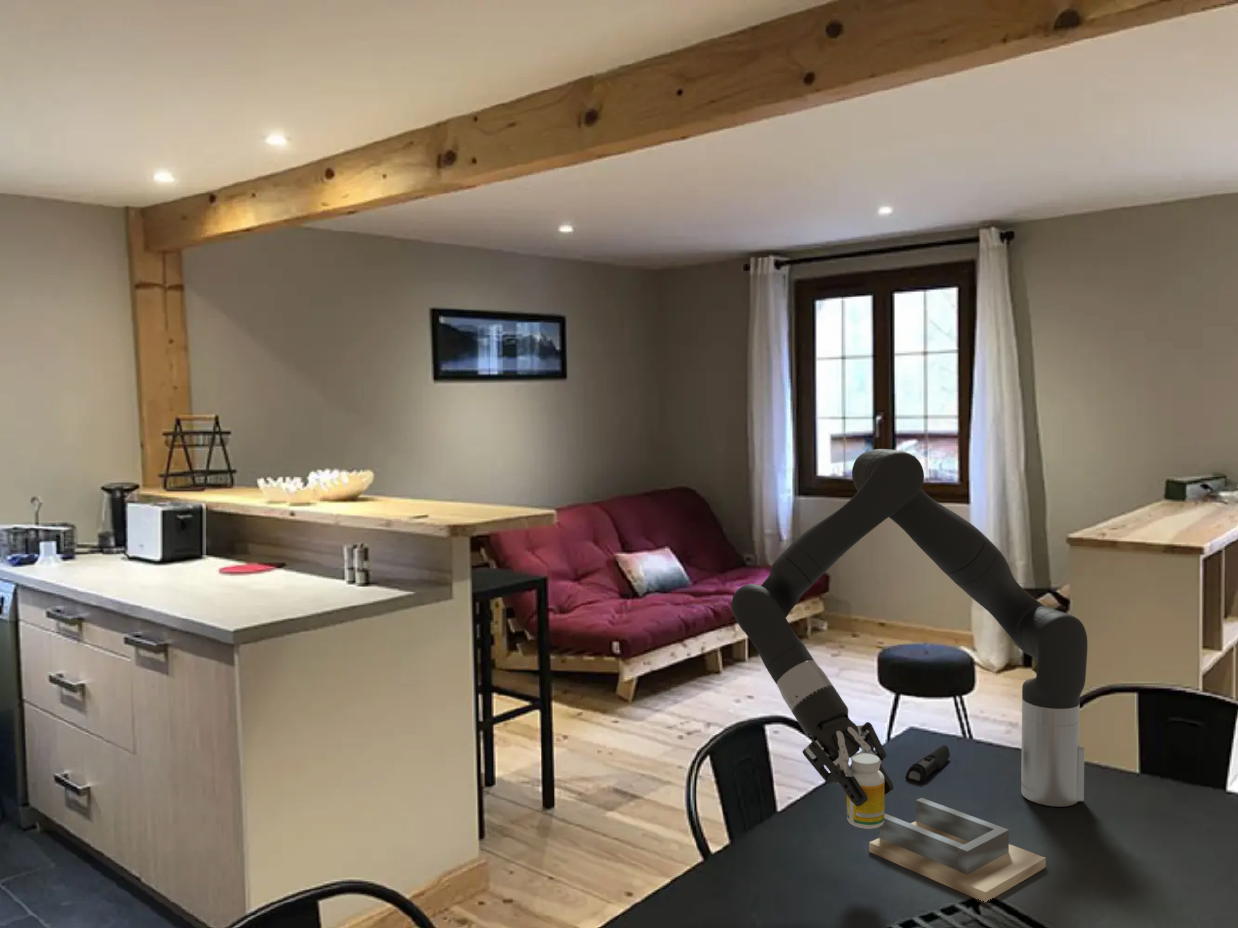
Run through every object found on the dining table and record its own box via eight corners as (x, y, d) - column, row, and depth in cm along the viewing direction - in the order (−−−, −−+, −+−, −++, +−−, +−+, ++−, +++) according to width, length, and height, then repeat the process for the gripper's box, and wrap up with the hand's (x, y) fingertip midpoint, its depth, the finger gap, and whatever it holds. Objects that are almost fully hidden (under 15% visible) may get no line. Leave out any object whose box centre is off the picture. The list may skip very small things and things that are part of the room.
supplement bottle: (839, 818, 144) (838, 755, 143) (868, 810, 146) (867, 748, 146) (863, 833, 139) (862, 767, 139) (892, 824, 142) (892, 760, 141)
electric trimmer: (955, 762, 190) (955, 746, 190) (923, 786, 178) (923, 769, 178) (936, 757, 192) (936, 742, 192) (903, 781, 180) (903, 764, 180)
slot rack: (869, 851, 152) (869, 820, 152) (930, 823, 162) (930, 793, 162) (985, 902, 137) (985, 868, 136) (1045, 867, 146) (1045, 835, 146)
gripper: (792, 694, 143) (858, 799, 134) (855, 675, 152) (921, 772, 143) (766, 720, 148) (829, 824, 139) (829, 700, 156) (892, 796, 148)
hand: (875, 797), depth 141 cm, fingers closed on supplement bottle, 5 cm apart
